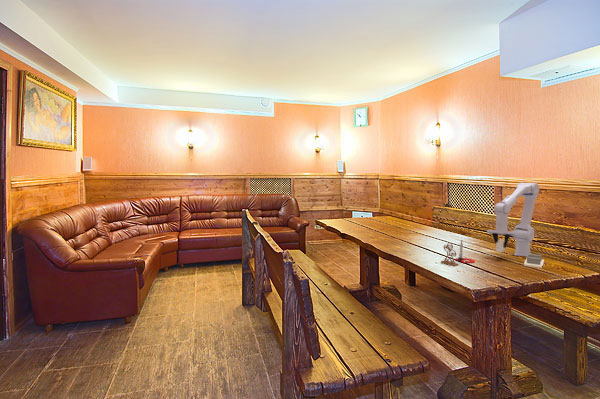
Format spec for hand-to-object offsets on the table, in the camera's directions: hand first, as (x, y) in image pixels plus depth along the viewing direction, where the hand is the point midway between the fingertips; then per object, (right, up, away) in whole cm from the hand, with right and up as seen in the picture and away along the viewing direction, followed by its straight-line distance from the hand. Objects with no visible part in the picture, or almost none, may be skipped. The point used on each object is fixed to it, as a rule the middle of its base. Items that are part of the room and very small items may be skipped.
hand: (501, 246), depth 191 cm
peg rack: (+12, -8, -10) cm, 18 cm away
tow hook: (-22, -8, -2) cm, 23 cm away
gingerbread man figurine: (-33, -9, -7) cm, 35 cm away
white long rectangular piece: (0, -2, 0) cm, 2 cm away
